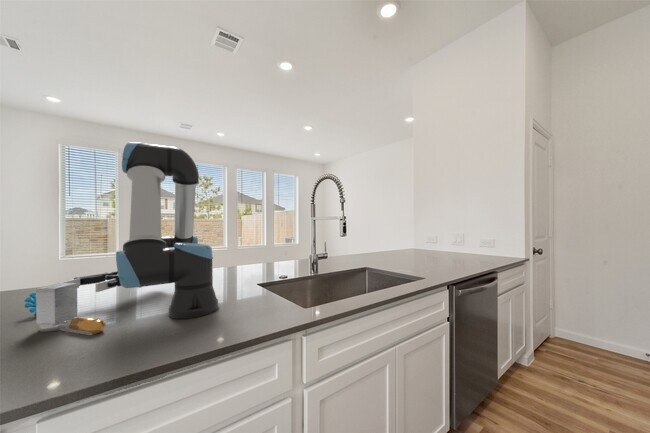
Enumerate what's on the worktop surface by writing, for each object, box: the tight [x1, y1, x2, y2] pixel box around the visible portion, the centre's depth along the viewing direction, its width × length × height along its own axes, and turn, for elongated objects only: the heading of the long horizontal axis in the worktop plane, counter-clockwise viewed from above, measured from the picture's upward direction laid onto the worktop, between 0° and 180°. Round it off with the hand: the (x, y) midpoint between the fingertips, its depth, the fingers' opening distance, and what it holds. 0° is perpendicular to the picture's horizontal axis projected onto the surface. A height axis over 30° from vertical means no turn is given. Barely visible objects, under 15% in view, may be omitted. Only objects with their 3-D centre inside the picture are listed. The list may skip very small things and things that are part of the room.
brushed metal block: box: [35, 282, 78, 325], centre depth 76 cm, size 6×6×10 cm
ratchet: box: [39, 316, 107, 336], centre depth 74 cm, size 22×7×5 cm, turn 74°
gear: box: [24, 292, 36, 315], centre depth 88 cm, size 11×6×10 cm
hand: (77, 287), depth 82 cm, fingers open, 13 cm apart
